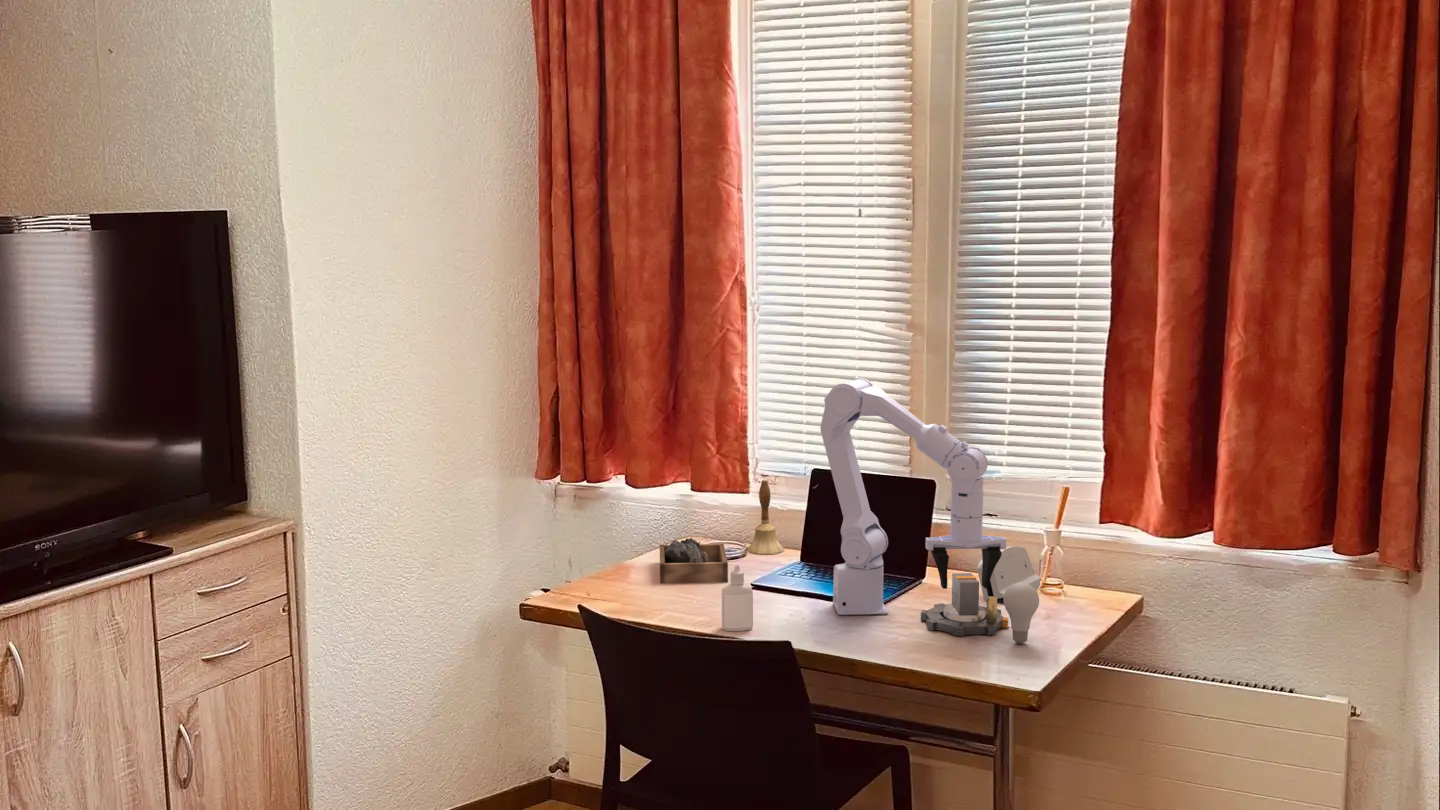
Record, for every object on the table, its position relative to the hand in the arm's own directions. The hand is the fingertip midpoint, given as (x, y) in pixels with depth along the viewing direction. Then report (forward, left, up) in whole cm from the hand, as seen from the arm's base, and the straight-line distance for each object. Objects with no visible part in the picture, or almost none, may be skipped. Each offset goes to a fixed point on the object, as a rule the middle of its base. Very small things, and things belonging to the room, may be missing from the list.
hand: (964, 587), depth 231 cm
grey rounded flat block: (+14, +19, -7) cm, 25 cm away
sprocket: (0, 0, -7) cm, 7 cm away
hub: (0, 0, -7) cm, 7 cm away
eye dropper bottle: (-42, 0, -7) cm, 43 cm away
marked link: (0, 0, -4) cm, 4 cm away
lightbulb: (+7, -12, -7) cm, 15 cm away
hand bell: (-32, +55, -7) cm, 64 cm away
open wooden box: (-49, +38, -7) cm, 62 cm away
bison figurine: (-49, +38, -7) cm, 62 cm away
